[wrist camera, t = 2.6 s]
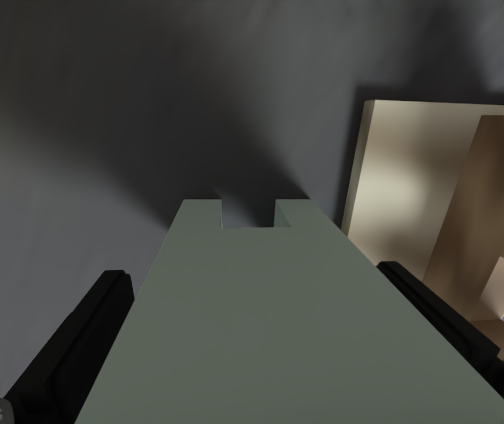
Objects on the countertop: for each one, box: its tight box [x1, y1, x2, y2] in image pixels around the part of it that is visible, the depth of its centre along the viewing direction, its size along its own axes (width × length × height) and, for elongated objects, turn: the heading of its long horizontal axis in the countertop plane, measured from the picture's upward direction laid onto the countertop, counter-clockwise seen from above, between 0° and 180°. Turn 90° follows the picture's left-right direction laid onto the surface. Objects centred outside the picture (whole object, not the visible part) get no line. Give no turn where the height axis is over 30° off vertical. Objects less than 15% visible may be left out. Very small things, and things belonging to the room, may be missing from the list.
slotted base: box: [341, 100, 504, 361], centre depth 13 cm, size 18×14×8 cm
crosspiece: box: [75, 199, 504, 424], centre depth 9 cm, size 3×8×12 cm, turn 88°
